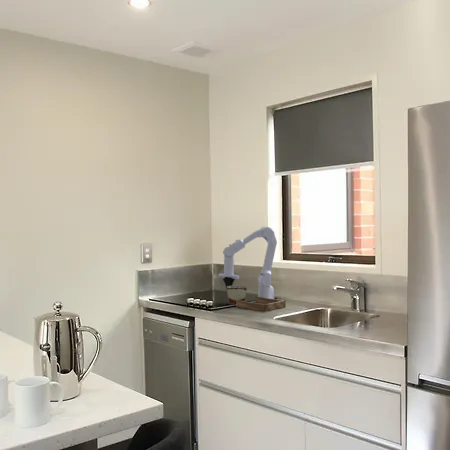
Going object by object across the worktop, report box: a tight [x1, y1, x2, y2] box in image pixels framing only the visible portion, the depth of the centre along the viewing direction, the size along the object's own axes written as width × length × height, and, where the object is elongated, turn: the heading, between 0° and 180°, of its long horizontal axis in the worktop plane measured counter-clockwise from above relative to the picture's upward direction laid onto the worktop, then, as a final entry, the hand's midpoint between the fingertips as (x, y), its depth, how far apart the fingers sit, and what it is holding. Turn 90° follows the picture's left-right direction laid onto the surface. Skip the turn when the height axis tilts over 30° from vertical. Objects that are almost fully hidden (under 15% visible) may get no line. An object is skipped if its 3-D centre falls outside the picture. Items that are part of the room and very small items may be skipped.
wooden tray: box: [235, 296, 287, 312], centre depth 291 cm, size 18×21×4 cm
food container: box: [225, 285, 248, 305], centre depth 303 cm, size 12×6×10 cm, turn 84°
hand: (228, 290), depth 307 cm, fingers closed
